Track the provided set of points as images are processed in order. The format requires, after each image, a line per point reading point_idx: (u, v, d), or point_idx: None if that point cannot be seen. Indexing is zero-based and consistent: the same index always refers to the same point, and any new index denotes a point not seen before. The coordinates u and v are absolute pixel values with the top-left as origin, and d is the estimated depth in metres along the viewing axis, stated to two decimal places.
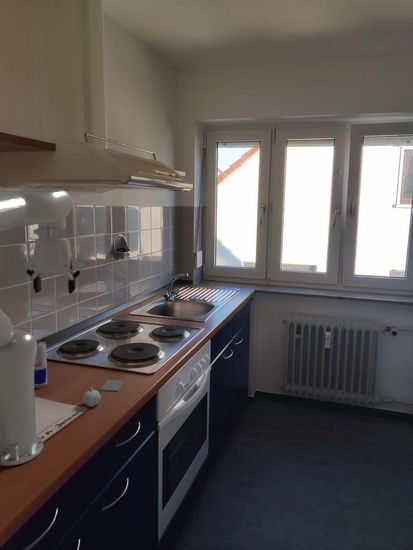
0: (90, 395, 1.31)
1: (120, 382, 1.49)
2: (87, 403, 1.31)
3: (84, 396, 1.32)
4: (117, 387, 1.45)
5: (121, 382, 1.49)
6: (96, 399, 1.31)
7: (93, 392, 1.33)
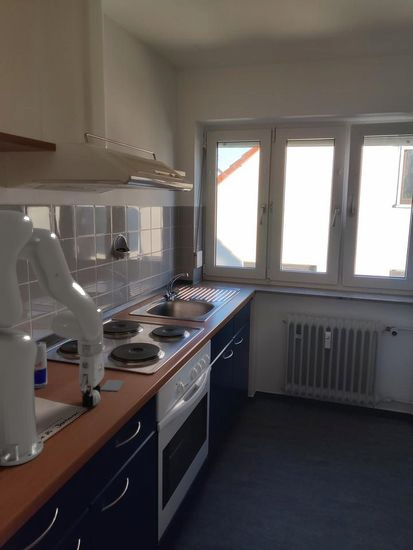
0: None
1: (120, 382, 1.49)
2: None
3: None
4: (117, 387, 1.45)
5: (121, 382, 1.49)
6: (96, 399, 1.31)
7: (93, 392, 1.33)
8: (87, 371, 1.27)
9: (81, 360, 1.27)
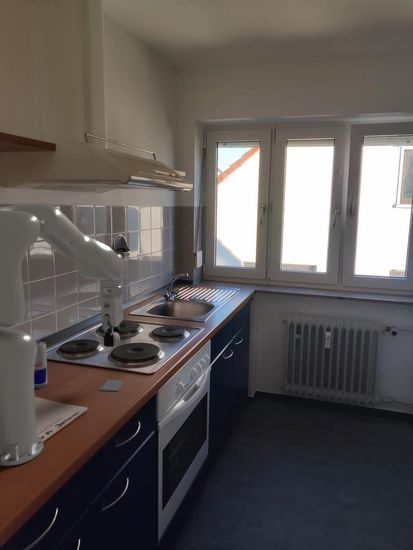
0: None
1: (120, 382, 1.49)
2: None
3: None
4: (117, 387, 1.45)
5: (121, 382, 1.49)
6: (116, 338, 1.42)
7: (113, 333, 1.43)
8: (108, 311, 1.37)
9: (103, 301, 1.38)
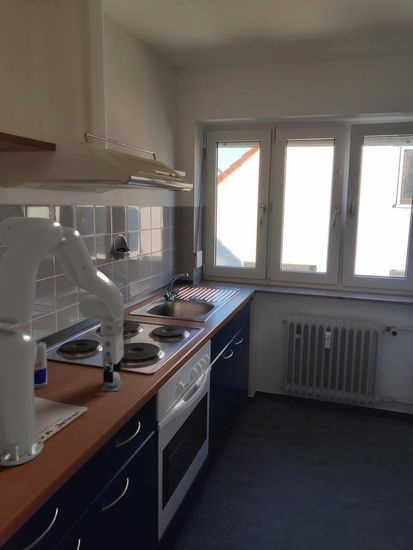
0: None
1: (120, 382, 1.49)
2: (108, 383, 1.44)
3: None
4: (117, 387, 1.45)
5: (121, 382, 1.49)
6: (116, 379, 1.45)
7: (114, 373, 1.46)
8: (109, 349, 1.40)
9: (104, 339, 1.40)
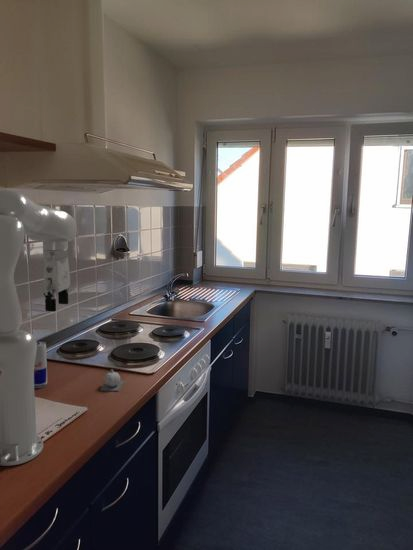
0: (111, 376, 1.45)
1: (120, 382, 1.49)
2: (108, 383, 1.44)
3: (106, 377, 1.45)
4: (117, 387, 1.45)
5: (121, 382, 1.49)
6: (116, 379, 1.45)
7: (114, 373, 1.46)
8: (51, 275, 1.32)
9: (45, 265, 1.32)
